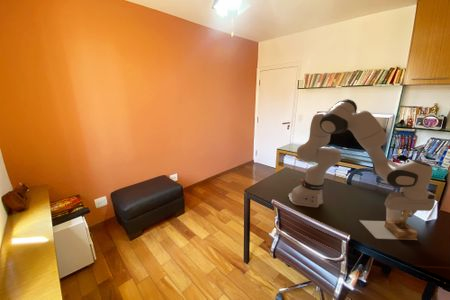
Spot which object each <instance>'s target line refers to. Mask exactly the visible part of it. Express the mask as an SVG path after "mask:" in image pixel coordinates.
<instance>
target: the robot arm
mask: <svg viewBox="0 0 450 300" xmlns="http://www.w3.org/2000/svg"><path fill="white" fill-rule="evenodd" d="M357 110H358V105H357V103H356V102H355V101H353V100H352V99H349V98H347V99H346V98H345V99H341V100H339V101H337V102H336V103H335V104H334V105H333V106H331V107H330V108H329V109H328V110H327V112H318V113H316V114H314V115H313V116H312V119H311V123H310V126H309V127H310V128H309V136H308V141H306V142H305V143H303V144H301V145H299V146H298V148H297V150H296V156H297V158H298V159H299V160H301V161H304V162H310V163H314V164H316V165H313V166H309V167H308V168H307V169H306V172H305V178H304V179H302V178H300V179H299V182H300V183H301V184H300V185H298V186H296V187H294V188H293V189H292V192H289V193H288V197H289V198H288V200H289V201H290V203H292V204H293V205H294V206H301V207H303V206H304V207H309V208H319V207H320V205H322V204H323V203H324V200H323V190H324V185H325V184H324V180H325V175H326V173H327V171H328V170H329V169H330V168H332V167H333V166H335V165H338V164H339V163H340V162H341V159H342V152H341V151H340V150H339V149H338V148H334V147H330V146H327V145H328V144H329V143H330V142H331V135H335V134H339V133H345V132H346V131H347V130H348V131H350V132H351V133H352V135H353V137H354V138H355V139H356V141H357V143H359V145H360V146H361V147H362V148H363V149H364V150H365V151H366V153H367V155H368V157H369V158H370V161H371V163H372V170H373V173H374V174H375V175H376V176H378V177H379V178H380V179H382V180H383V181H385V183H387V184H389V185H390V186H392V187H395V188H400V190H399V191H391V192H389V194H388V195H387V197H386V199H385V201H384V206H385V208H388V209H390V210H397V211H398V216H399V217H403V216H404V214H403V213H402V212H403V210H411V211H410V214H409V217H408V218H413V215H415V214H416V213H417V212H418V211H420V212H421V211H422V212H424V211H425V212H426V211H427V212H429V211H432V210H433V208H434V206H435V202H436V201H435V200H437V195H436V194H435V193H433V192H431V191H429V190H428V185H429V184H430V182H431V180H432V176H433V170H434V168H433V166H432V165H431V164H430V163H427V162H424V161H422V160H419V159H418V160H417V159H411V160H410V161H408V162H406V163H404V164H403V163H402V164H398V163H395V162H394V161H393V160H392V159H390V158H389V157H387V156H386V154H385V152H384V150H383V149H382V146H384V144H386V143H387V140H388V138H387V137H388V136H387V135H386V132H385V129H383V126H382V125H381V123H380V122H379V120H377V118H376V117H375V116H374V115H373V114H372V113H371V112H369V111H368V110H359V111H357Z"/></svg>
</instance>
